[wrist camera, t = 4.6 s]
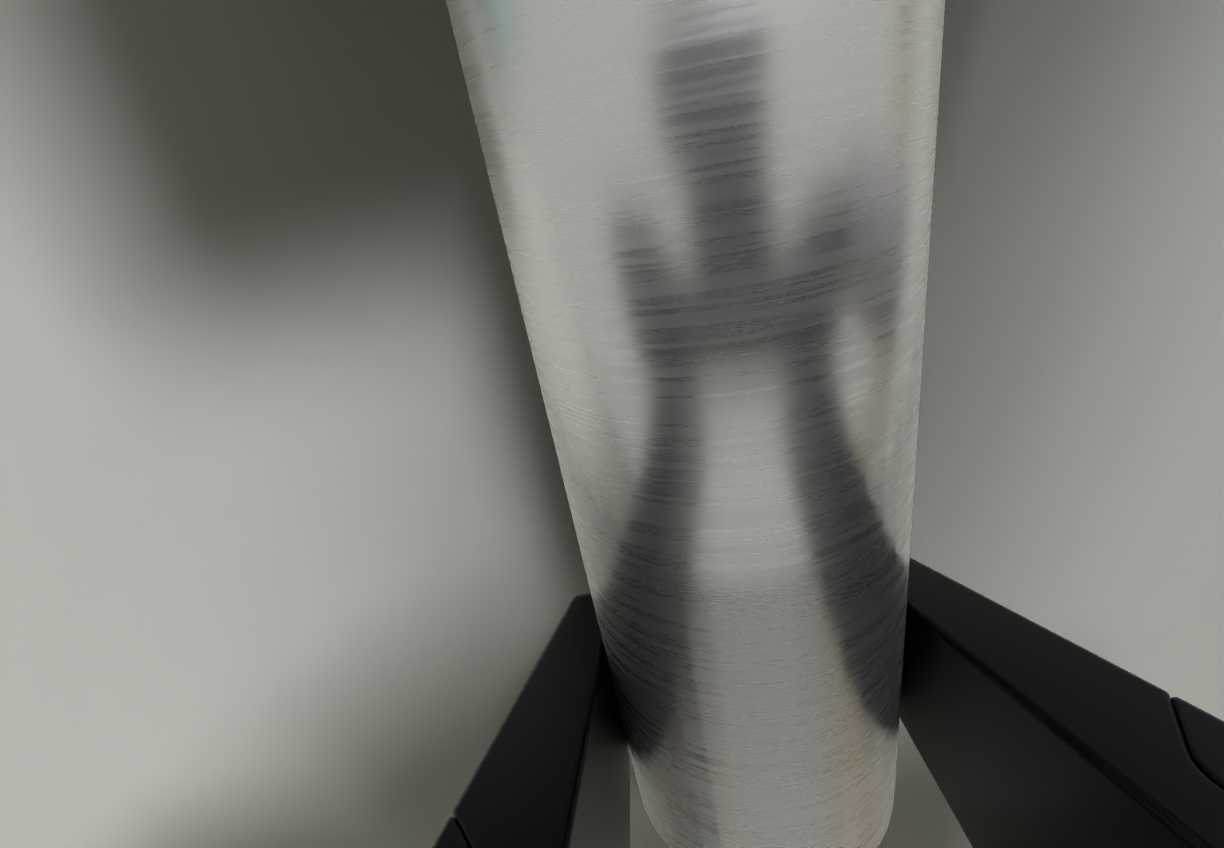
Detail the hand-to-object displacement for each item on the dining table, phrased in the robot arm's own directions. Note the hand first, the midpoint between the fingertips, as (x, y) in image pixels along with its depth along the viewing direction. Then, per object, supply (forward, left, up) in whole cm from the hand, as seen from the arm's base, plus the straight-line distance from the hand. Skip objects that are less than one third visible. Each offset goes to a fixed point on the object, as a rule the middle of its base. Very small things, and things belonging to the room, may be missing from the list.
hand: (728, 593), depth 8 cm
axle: (0, -6, -1) cm, 6 cm away
